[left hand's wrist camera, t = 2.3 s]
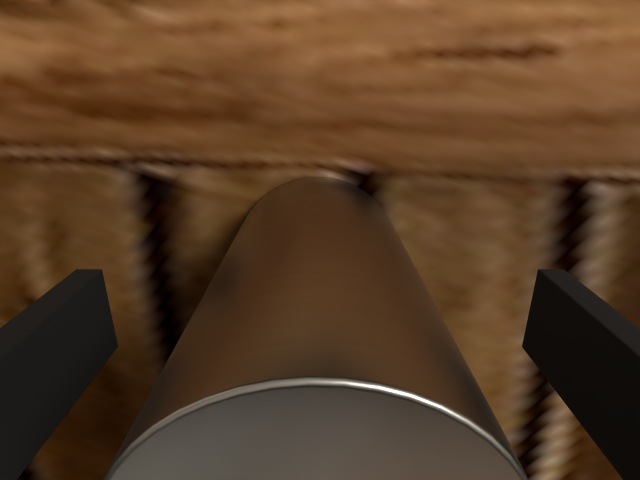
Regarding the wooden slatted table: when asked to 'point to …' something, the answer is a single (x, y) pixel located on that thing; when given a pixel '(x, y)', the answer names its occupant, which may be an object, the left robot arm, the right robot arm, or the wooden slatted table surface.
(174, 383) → the canister
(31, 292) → the wooden slatted table surface
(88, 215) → the wooden slatted table surface
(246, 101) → the wooden slatted table surface
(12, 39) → the wooden slatted table surface
